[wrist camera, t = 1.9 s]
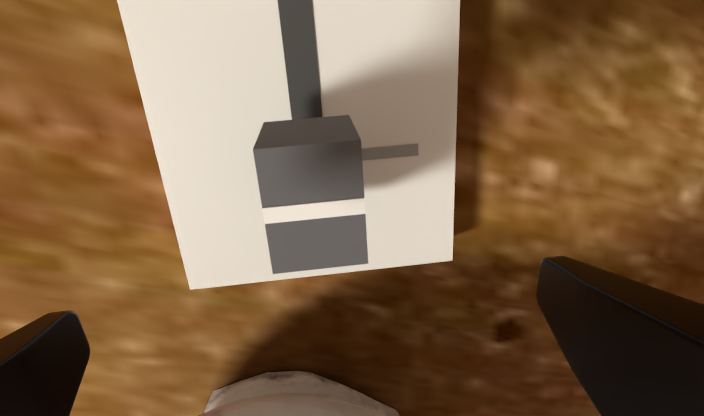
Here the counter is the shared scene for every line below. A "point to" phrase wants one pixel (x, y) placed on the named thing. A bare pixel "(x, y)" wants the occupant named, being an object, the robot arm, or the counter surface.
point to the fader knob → (312, 193)
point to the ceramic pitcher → (292, 398)
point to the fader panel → (298, 103)
